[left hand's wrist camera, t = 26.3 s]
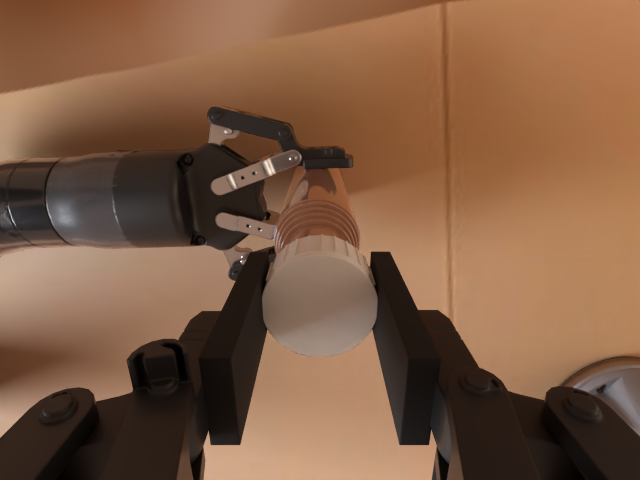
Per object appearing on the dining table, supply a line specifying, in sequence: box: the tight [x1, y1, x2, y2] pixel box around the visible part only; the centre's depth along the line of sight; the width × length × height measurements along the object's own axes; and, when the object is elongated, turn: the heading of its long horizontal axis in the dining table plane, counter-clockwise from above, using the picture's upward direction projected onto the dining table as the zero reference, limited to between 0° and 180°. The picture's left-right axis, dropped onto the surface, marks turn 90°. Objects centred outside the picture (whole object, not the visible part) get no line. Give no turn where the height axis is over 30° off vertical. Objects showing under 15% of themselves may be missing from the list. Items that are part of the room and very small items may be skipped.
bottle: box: [274, 166, 360, 255], centre depth 24 cm, size 4×4×21 cm
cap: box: [262, 234, 378, 357], centre depth 14 cm, size 4×4×2 cm
